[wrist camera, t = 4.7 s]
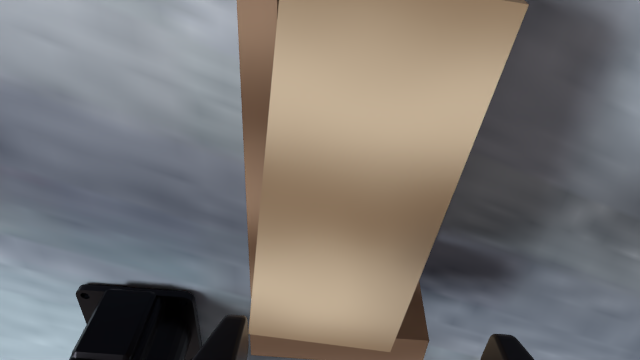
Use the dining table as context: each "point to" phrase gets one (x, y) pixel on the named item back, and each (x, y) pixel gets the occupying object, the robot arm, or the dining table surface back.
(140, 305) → the robot arm
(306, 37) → the board
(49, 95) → the dining table surface
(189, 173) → the dining table surface
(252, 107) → the frame
